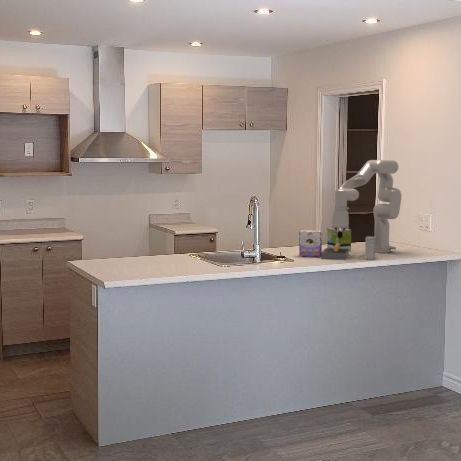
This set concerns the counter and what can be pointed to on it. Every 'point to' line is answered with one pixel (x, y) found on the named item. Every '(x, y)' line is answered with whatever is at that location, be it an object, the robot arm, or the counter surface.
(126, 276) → the counter surface
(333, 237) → the tea box
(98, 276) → the counter surface
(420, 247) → the counter surface
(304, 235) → the candy box
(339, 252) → the breaker panel
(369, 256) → the junction box
